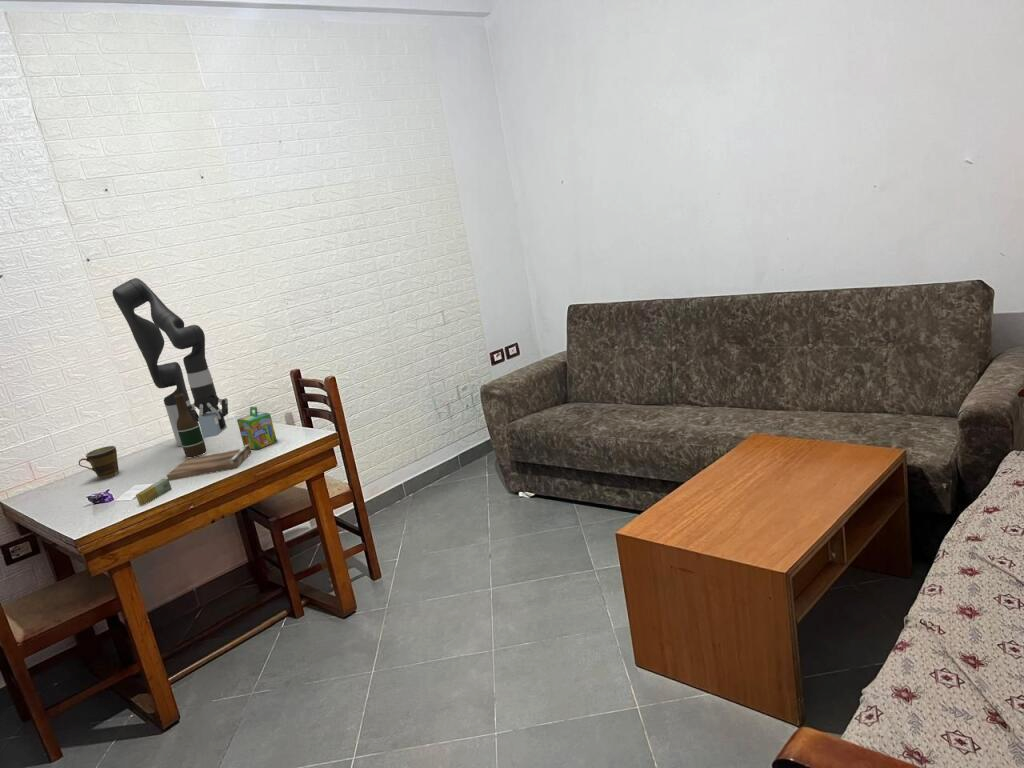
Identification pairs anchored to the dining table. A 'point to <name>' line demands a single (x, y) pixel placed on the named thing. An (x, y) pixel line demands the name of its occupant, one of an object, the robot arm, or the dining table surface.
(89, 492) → the dining table surface
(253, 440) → the colorful gift box
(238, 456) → the wooden tray
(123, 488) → the dining table surface
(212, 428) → the tea carton
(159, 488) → the medication box
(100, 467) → the ceramic cup
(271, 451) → the dining table surface
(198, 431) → the beer bottle
